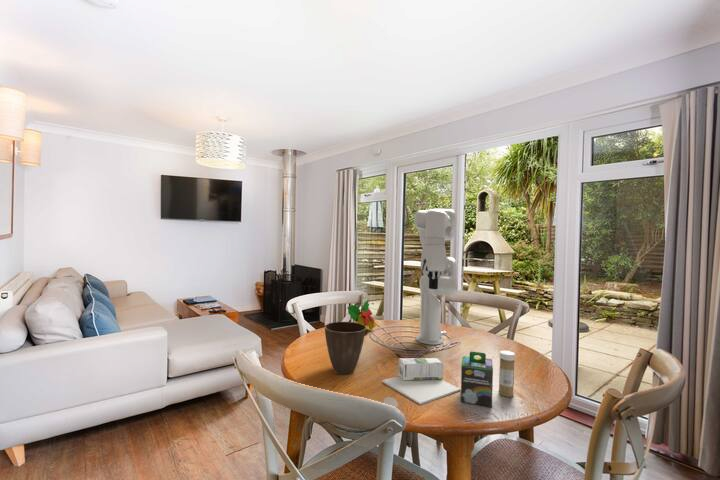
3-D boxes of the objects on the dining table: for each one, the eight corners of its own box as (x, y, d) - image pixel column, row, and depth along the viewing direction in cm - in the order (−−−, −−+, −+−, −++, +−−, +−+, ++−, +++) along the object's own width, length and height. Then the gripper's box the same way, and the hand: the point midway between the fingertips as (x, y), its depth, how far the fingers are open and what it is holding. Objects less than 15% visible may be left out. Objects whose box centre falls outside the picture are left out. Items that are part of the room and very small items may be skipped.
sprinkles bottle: (514, 393, 112) (516, 351, 112) (512, 398, 108) (513, 355, 108) (499, 389, 114) (501, 348, 114) (496, 394, 111) (498, 352, 110)
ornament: (360, 338, 165) (361, 307, 165) (346, 335, 170) (347, 304, 169) (380, 328, 183) (381, 300, 183) (366, 326, 187) (367, 298, 187)
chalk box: (491, 395, 110) (493, 348, 110) (492, 408, 102) (494, 358, 101) (461, 389, 113) (463, 344, 113) (459, 402, 105) (461, 353, 104)
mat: (421, 371, 127) (421, 370, 127) (460, 390, 112) (460, 389, 112) (382, 382, 117) (382, 380, 117) (420, 404, 102) (420, 402, 102)
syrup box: (437, 373, 125) (398, 374, 123) (437, 356, 125) (398, 358, 123) (443, 379, 119) (402, 381, 117) (443, 362, 119) (402, 363, 117)
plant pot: (315, 367, 127) (316, 324, 127) (348, 360, 137) (349, 319, 136) (338, 382, 116) (339, 334, 115) (372, 372, 125) (374, 328, 124)
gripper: (440, 242, 144) (439, 286, 144) (414, 241, 135) (412, 288, 135) (455, 242, 137) (453, 289, 138) (428, 242, 129) (426, 291, 129)
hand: (433, 288), depth 137 cm, fingers closed
